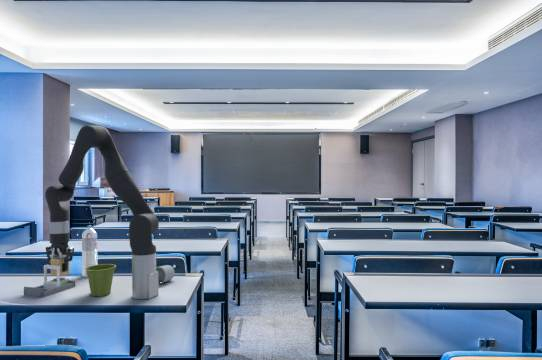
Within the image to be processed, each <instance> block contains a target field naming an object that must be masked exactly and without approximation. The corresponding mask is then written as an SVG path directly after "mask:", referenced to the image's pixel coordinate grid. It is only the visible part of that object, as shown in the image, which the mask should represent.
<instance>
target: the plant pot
mask: <svg viewBox="0 0 542 360" xmlns="http://www.w3.org/2000/svg"><path fill="white" fill-rule="evenodd" d="M116 268H117V265H116V264H113V263H101V264H98V265H93V266H89V267H86V268H85V270H86V272H87V275H88V277H87V280H88V285H89V291H90V294H91V295H90V296H92V297H96V296H97V297H104V296H108V295H109V294H111V291H112V284H113V277H114V273H115V269H116Z"/></svg>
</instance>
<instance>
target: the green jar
mask: <svg viewBox="0 0 542 360" xmlns="http://www.w3.org/2000/svg"><path fill="white" fill-rule="evenodd" d="M68 280H69V278H67V277H64V276H60V286H62V285H66V284H68ZM49 281H51V282H57V277H55V278H53V279H50V280H49Z"/></svg>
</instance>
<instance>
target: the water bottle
mask: <svg viewBox="0 0 542 360" xmlns="http://www.w3.org/2000/svg"><path fill="white" fill-rule="evenodd" d="M86 227H87V228H86V229H85V230H84V231H83V232H82V234H81V240H82V241H81V249H82V250H81V263H82V264H81V265H82V266H81V275H82V276H81V277H82V278H88V275H87V272H86V270H85V268H86V267H89V266H93V265H99V264H98V263H99V262H98V261H99V260H98V258H99V257H98V233H97V231H96V230H95V229H93V228H92V225H91V224H89V225H87V226H86Z"/></svg>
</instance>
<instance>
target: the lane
mask: <svg viewBox="0 0 542 360" xmlns="http://www.w3.org/2000/svg"><path fill="white" fill-rule="evenodd" d="M72 288H76V280H73V279H68V284H66V285H62V286H59V287H56V288H53V289H50V290H45V289H44V284H42V285H38V286H34V287H33V286H23V296H25V297H33V298H34V297H35V298H42V299H43V298H46V297H49V296H52V295H55V294H58V293H60V292H64V291H67V290H69V289H72Z"/></svg>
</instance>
